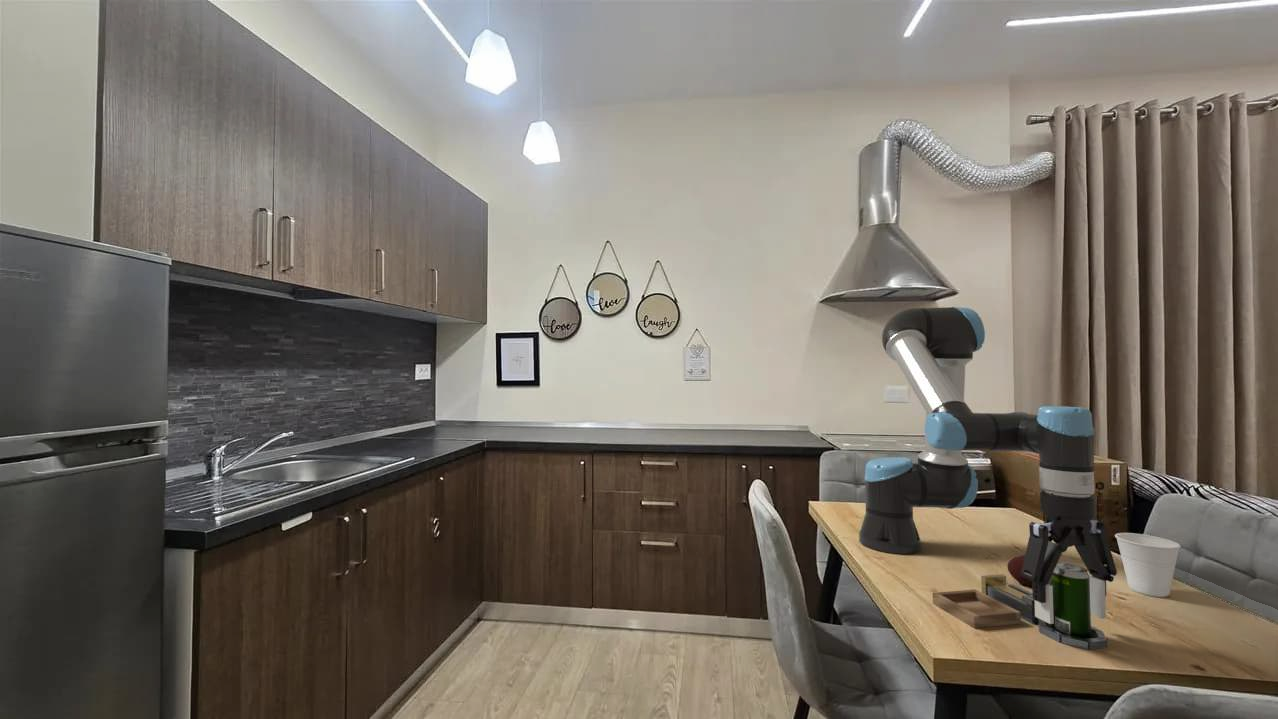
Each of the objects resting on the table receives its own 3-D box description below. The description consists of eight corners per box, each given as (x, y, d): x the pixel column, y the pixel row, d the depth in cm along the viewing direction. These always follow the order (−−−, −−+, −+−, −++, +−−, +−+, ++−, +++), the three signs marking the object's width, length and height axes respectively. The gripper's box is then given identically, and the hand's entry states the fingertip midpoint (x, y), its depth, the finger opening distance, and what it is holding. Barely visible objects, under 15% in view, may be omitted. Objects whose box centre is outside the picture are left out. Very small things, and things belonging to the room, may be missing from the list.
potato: (999, 580, 112) (998, 553, 112) (1023, 574, 115) (1023, 548, 115) (1037, 593, 105) (1036, 565, 105) (1061, 586, 108) (1060, 559, 108)
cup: (1167, 586, 108) (1165, 536, 108) (1194, 605, 99) (1192, 550, 99) (1107, 579, 112) (1106, 530, 113) (1129, 596, 103) (1127, 543, 104)
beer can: (1085, 646, 84) (1083, 575, 84) (1046, 632, 89) (1044, 565, 89) (1095, 637, 87) (1093, 568, 87) (1057, 624, 92) (1055, 559, 92)
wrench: (981, 601, 101) (981, 580, 101) (1019, 598, 102) (1018, 577, 102) (1076, 651, 83) (1075, 625, 83) (1120, 646, 84) (1119, 620, 84)
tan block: (981, 595, 103) (981, 575, 103) (1002, 593, 104) (1001, 574, 104) (1032, 620, 92) (1031, 599, 92) (1054, 618, 93) (1053, 597, 93)
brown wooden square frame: (932, 603, 100) (932, 592, 100) (975, 599, 102) (975, 589, 102) (974, 628, 90) (974, 616, 90) (1020, 623, 92) (1020, 612, 92)
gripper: (1033, 500, 83) (1036, 633, 82) (1142, 494, 87) (1147, 622, 86) (993, 490, 90) (996, 612, 90) (1096, 485, 94) (1100, 602, 94)
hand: (1070, 617), depth 88 cm, fingers open, 10 cm apart
